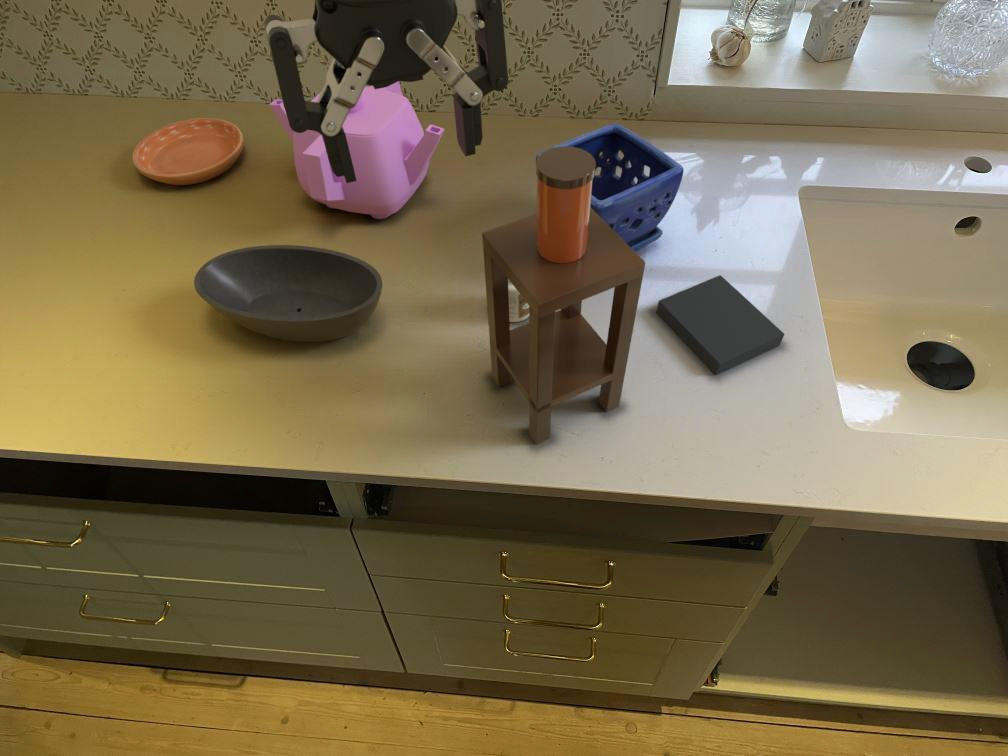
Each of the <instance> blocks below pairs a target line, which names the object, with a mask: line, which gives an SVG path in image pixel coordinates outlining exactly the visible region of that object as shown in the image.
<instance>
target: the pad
mask: <svg viewBox="0 0 1008 756" xmlns="http://www.w3.org/2000/svg"><path fill="white" fill-rule="evenodd" d="M656 314H657V315H658V316H659V318H661V319H662V320H663V322H665V323H666V324H667V326H668V327H669V328H670V329H671V330H672V331H673V332H674V333H675V334H676V335H677V336H678V337H679V338H680V339H681V340H682V341H683V342H684V343H685V345H686V346H687V347H688V348H689V349H690V350H691V351H692V352H693V353H694V354H695V355H696V356H697V357H698V359H700V361H702V362H703V364H704V365H705V366H706V367H707V368H708V369H709V370H710V371H711V373H713V374H714V376H718V375H720V374H723V373H724V372H726V371H728V370H731V369H733V368H735V367H737V366H739V365H741V364H743V363H746V362H747V361H750V360H752V359H754V358H756V357H758V356H760V355H763V354H765V353H767V352H769V351H772V350H773V349H775V348H778V347H780V345H781V343H782V341H783V340H784V336H785V333H784V332H783V331H782V330H781V329H780V328H779V327H777V325H776V324H774V323H773V322H772V321H771V320H770V319H769V318H768V317H767V316H765V314H764V313H763V312H761V311H760V310H759V309H758V307H756V306H755V305H754V304H753V303H751V301H749V300H748V299H747V298H746V296H744V295H743V294H742V293H741V292H740V291H739V290H738V289H736V288H735V287H734V286H733V285H732V284H731V283H730V282H729V281H727V280H726V279H725V278H724V277H723V276H722V275H721V274H720V275H717V276H714V277H712V278H710V279H707V280H705V281H703V282H702V281H701V283H698V284H696V285H693V286H690V287H689V288H686V289H684V290H681V291H678V292H676V293H674V294H671V295H669V296H667V297H664V298H662V299H659V300H658V302H657V307H656Z"/></svg>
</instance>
